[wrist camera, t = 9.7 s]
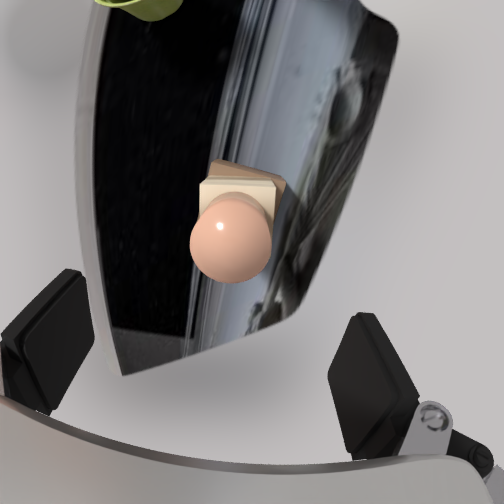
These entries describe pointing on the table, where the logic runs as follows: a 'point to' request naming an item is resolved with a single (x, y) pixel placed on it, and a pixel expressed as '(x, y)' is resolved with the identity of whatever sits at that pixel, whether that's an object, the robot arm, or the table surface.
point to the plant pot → (145, 7)
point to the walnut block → (235, 169)
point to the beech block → (252, 186)
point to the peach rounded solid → (231, 238)
